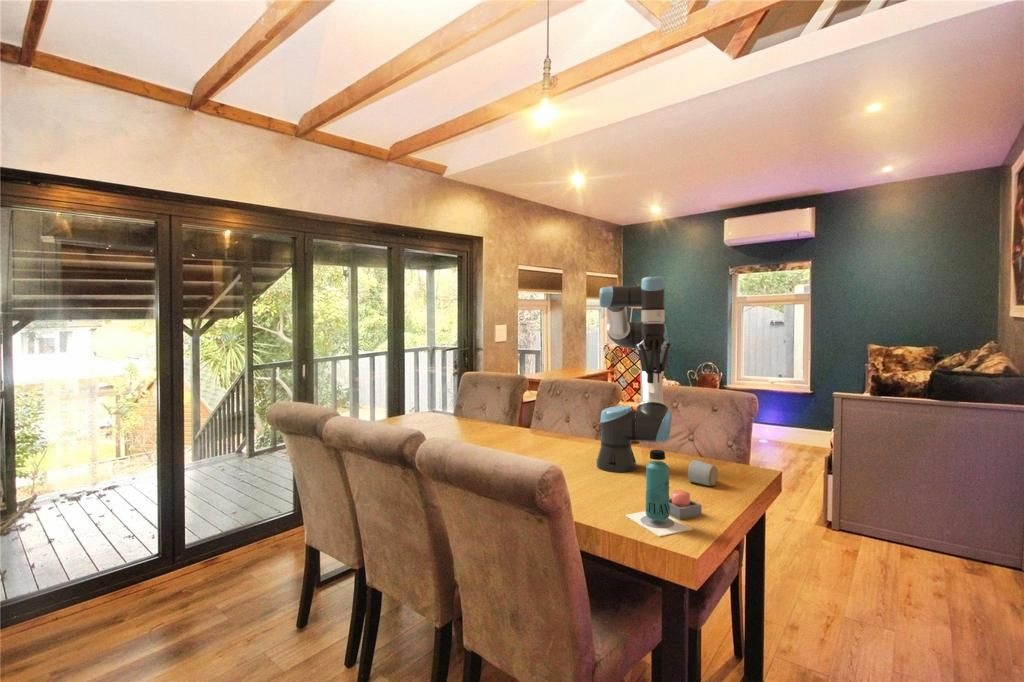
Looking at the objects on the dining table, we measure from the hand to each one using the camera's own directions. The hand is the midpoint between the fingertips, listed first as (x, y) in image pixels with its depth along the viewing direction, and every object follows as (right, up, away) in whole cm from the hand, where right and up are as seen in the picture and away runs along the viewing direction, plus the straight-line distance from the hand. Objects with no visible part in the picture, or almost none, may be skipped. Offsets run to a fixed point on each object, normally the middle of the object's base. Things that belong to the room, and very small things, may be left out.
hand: (653, 392), depth 161 cm
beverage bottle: (-7, -33, -28) cm, 44 cm away
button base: (+2, -33, -21) cm, 39 cm away
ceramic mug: (+19, -32, +5) cm, 38 cm away
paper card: (-7, -33, -28) cm, 44 cm away
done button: (+2, -32, -21) cm, 39 cm away
